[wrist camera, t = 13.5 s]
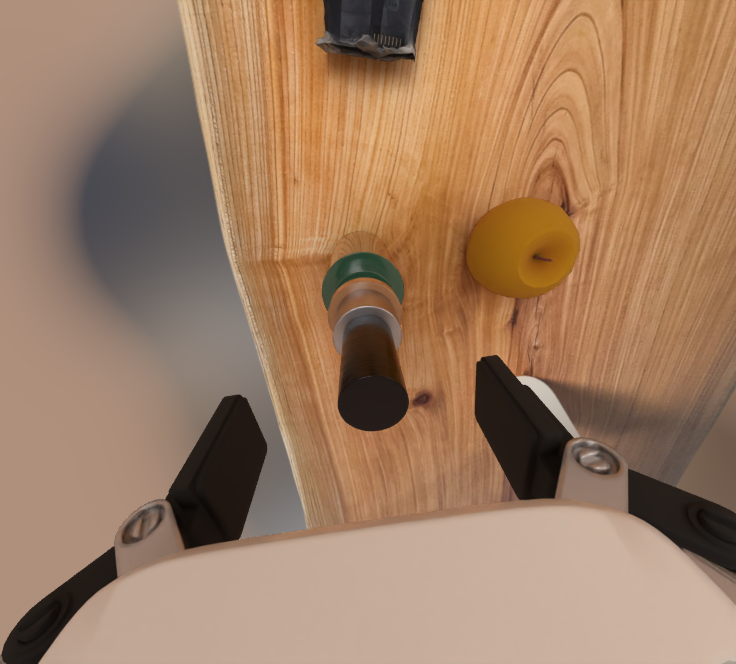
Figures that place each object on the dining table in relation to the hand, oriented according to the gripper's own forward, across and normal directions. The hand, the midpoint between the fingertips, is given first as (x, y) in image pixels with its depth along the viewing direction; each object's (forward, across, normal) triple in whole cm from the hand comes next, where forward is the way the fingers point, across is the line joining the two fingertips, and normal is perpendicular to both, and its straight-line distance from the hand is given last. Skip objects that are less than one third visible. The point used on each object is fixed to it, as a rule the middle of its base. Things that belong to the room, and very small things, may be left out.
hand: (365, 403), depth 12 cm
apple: (+26, -17, +1) cm, 31 cm away
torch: (+9, 0, 0) cm, 9 cm away
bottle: (+26, 0, +1) cm, 26 cm away
